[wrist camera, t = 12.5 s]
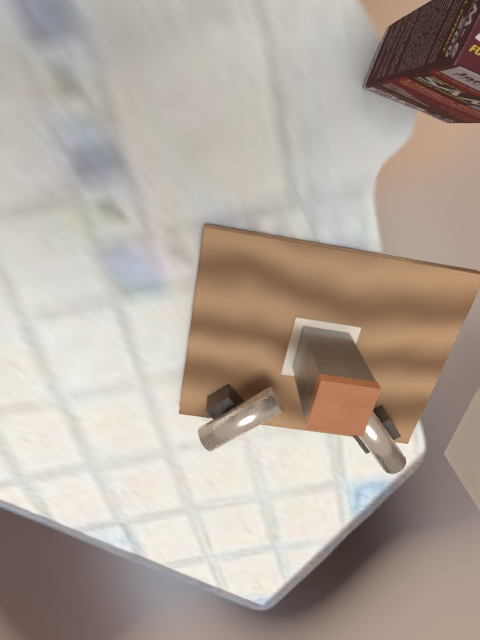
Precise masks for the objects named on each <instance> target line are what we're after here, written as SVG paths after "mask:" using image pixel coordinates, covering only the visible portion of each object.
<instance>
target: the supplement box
mask: <svg viewBox="0 0 480 640" xmlns="http://www.w3.org/2000/svg"><path fill="white" fill-rule="evenodd" d="M363 88H364V89H367V90H369V91H372V92H374V93H377V94H379V95H382V96H384V97H387V98H389V99H392V100H395V101H397V102H400V103H402V104H405V105H407V106H410V107H412V108H414V109H417V110H419V111H421V112H424V113H426V114H428V115H430V116H432V117H435V118H437V119H439V120H441V121H444V122H446V123H480V0H432V1H430V2H428V3H426V4H425V5H423V6H421V7H420V8H418V9H416V10H415V11H413V12H411V13H410V14H408V15H406V16H405V17H403V18H401V19H400V20H398V21H396V22H395V23H393V24H392V25H390V26H388V27H387V29H386V31H385V34H384V36H383V39H382V41H381V44H380V46H379V48H378V51H377V53H376V56H375V58H374V61H373V63H372V66H371V68H370V71H369V73H368V75H367V78H366V80H365V83H364V85H363Z"/></svg>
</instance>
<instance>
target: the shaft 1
mask: <svg viewBox="0 0 480 640" xmlns="http://www.w3.org/2000/svg"><path fill="white" fill-rule="evenodd" d="M206 411H207V413H208V414H209V415H210V416H211V417H212V418H213V419H214V420H212V421H210V422H208V423H207V424H205V425H203V426H201V427H200V428H199V430H198V435H199V438H200V441H201V443H202V445H203V446H204V447H205V448H206V449H207V450H208V451H213V450H215V449H217V448H218V447H220V446H222V445H224V444H226V443H227V442H229V441H231V440H233V439H235V438H237V437H238V436H240V435H242V434H244V433H246V432H247V431H249V430H251V429H253V428H255V427H256V426H258V425H260V424H262V423H264V422H266V421H267V420H269V419H271V418H273V417H275V416H276V415H278V414H280V413H282V412H283V411H284V407H283V404H282V401H281V399H280V397H279V396H278V394H277V393H276V391H275V390H274V389H273V388H271V387H269V388H267V389H266V390H264V391H262V392H260V393H259V394H257V395H255V396H253V397H252V398H250V399H248V400H247V401H245V402H244V400H243V399H242V398H241V397H240V396H239V395H238V393H237V392H236V391H235V390H234V389H233V388H232V387H231V385H230V384H227V385H225V386H224V387H222V388H220V389H219V390H217V391H215V392H214V393H212V394H210V395H208V396H207V405H206Z"/></svg>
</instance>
